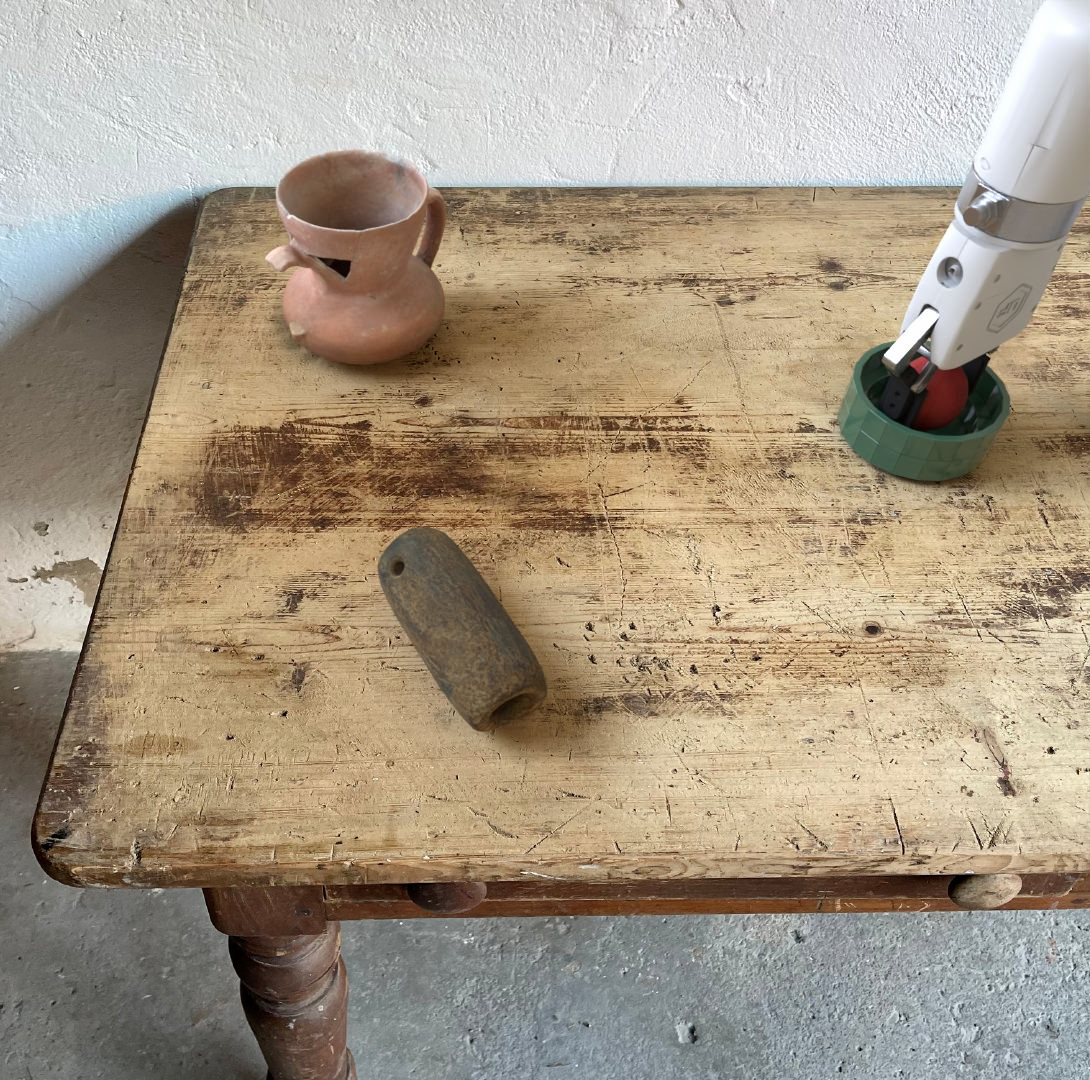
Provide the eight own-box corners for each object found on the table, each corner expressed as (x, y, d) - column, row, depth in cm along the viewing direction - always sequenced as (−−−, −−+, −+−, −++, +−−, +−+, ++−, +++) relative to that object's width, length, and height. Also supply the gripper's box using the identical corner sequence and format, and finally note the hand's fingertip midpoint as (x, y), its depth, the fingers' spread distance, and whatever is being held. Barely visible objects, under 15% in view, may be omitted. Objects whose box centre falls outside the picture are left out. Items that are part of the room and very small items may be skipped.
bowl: (904, 368, 89) (924, 322, 85) (1015, 448, 83) (1043, 402, 79) (805, 419, 85) (822, 373, 81) (915, 507, 79) (939, 462, 75)
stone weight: (363, 605, 73) (354, 545, 67) (444, 564, 75) (441, 504, 70) (476, 758, 65) (476, 704, 60) (562, 707, 68) (569, 651, 62)
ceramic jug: (334, 411, 85) (313, 266, 74) (246, 328, 92) (214, 183, 81) (496, 328, 92) (499, 184, 81) (403, 256, 99) (394, 114, 88)
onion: (892, 395, 86) (926, 318, 80) (958, 422, 84) (997, 345, 78) (866, 433, 83) (898, 356, 77) (933, 462, 81) (972, 386, 75)
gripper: (979, 269, 62) (884, 472, 77) (1146, 187, 68) (1030, 390, 83) (888, 212, 66) (814, 416, 80) (1054, 139, 72) (958, 341, 86)
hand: (924, 401), depth 81 cm, fingers open, 6 cm apart
